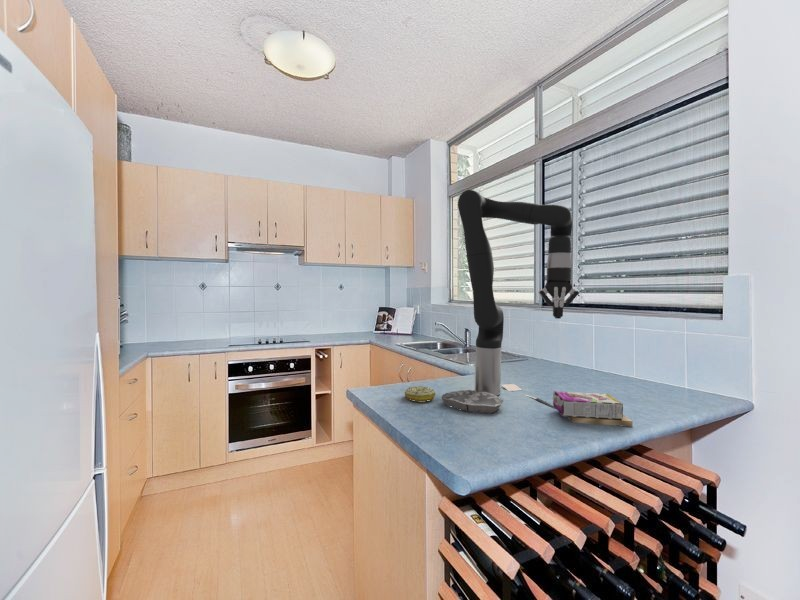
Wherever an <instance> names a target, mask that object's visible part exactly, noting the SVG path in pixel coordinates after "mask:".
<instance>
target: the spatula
mask: <svg viewBox="0 0 800 600" xmlns="http://www.w3.org/2000/svg"><path fill="white" fill-rule="evenodd" d="M501 388H503V389H505V390H506V391H508V392H512V391H513V392H514V391H515V392H516V391H522V388H520V387H519V386H518V385H516V384H514V383H508V384H501ZM525 396H526V397H528V398H531V399H535V401H537V402H540V403H542V404H543V405H545V406H548V407H549V408H552V409H554V410H556V411H558V410H557V409H556V408H555V407H554V406H553V404H550V403H549V402H547V401H544V400H543V399H541V398H538V397H534V396H531V395H528V394H525Z"/></svg>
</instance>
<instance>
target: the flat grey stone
mask: <svg viewBox="0 0 800 600" xmlns="http://www.w3.org/2000/svg"><path fill="white" fill-rule="evenodd" d="M441 400H442V402H443V403H444V404H445V405H446V406H447V405H448V406H452V407H455V408H458V409H457V410H459V409H461V410H460V411H462V410H466V411H465V412H469V413H473V412H480V413H479V414H493V413H494V412H497V410H498V409H500V407H501V405H502V404H503V403H504V399H501V398H500V397H499V396H498V395H497V396H496V395H493V394H491V393H488V392H477V391H475V390H472V389H466V390H463V389H462V390H461V389H460V390H457V391H450V392H445V393H444V394H442V396H441ZM448 406H447V407H448ZM455 408H454V409H455Z"/></svg>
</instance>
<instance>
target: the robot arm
mask: <svg viewBox="0 0 800 600" xmlns="http://www.w3.org/2000/svg"><path fill="white" fill-rule="evenodd" d="M457 208H458V209H457V210H458V213H459V216H460V220H461V224H462V228H463V236H464V243H465V244H464V245H465V251H466V252H465V253H466V260H467V261H466V262H467V269H468V272H469V280H470V284H471V289H472V296H473V298H472V299H473V300H472V301H473V302H472V303H473V317H474V321H475V323H476V325H477V326H478V334H477V336H476V338H475V365H474V391H477V392H488V393H491V394H493V395H496V396H497V397H498V396H499V395H501V388H502V383H501V382H502V381H501V379H502V374H501V373H502V344H503V343H502V342H503V339H504V338H503V337H504V321H505V320H504V312H503V309H502V308H501V306H499V305H498V304H497V303H496V301H495V297H494V296H495V295H494V289H493V287H494V286H493V285H494V275H495V274H494V273H495V270H494V269H495V268H494V267H495V266H494V258H493V252H492V248H491V244H490V241H489V239H488V236H487V233H486V231H485V228H484V224H483V218H484V219H499V220H506V221H511V222H514V223H515V222H516V223H522V224H528V225H534V226H535V225H545V226H550V237H549V240H548V246H547V247H548V249H547V250H548V252H547V260H546V261H547V263H546V264H547V265H546V283H545V284H544V287H543V288H542V289H541V290H539V291H538V294H539V295H540V297H541V298H542V299H543V300H544V301H545V303H546V304H547V305H548V306H550V307H552V316H553V318H554V319H557V320H559V319H561V318H562V317H563V316H564V315H563V314H564V313H563V312H564V307H568V306H570V304H571V303H572V302H573V301H574V299H575V298H576V297H577V296H578V295H579V291H578V290H576V289H574V287H573V284H572V266H573V264H572V231H573V220H574V219H573V214H572V212H571V210H570V209H569V208H568V207H566V206H564V205H557V204H538V203H533V202H525V201H500V200H499V201H498V200H494V199H491V198H488V197H485V196H483V195H482V194H480V192H478V191H476V190H474V189H466V190H464V191H463V192H462V193H461V194H460V195H459V198H458V199H457ZM548 294H549V295H550V296H551V298H549V296H548ZM568 294H569V296H568V297H567V298H566V296H567V295H568ZM565 298H566V299H565Z"/></svg>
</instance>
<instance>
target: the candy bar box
mask: <svg viewBox="0 0 800 600" xmlns="http://www.w3.org/2000/svg"><path fill="white" fill-rule="evenodd" d="M552 395H553V396H552V398H553V399H552V400H553V401H552V406H554V407H555V408H556V409H557V410H556V409H555V410H556V411H558V412H559V414H560V415H561V416H562V417H567V416H568V417H585V418H602V419H619V420H622V419H623V415H624V404H623V403H622V402H621V401H619V400H617V399H616V398H615V397H613V396H611V395H610V394H608V393H599V392H595V393H594V392H578V391H577V392H576V391H560V390H559V391H557V390H553V393H552ZM568 417H567V418H568Z"/></svg>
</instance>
